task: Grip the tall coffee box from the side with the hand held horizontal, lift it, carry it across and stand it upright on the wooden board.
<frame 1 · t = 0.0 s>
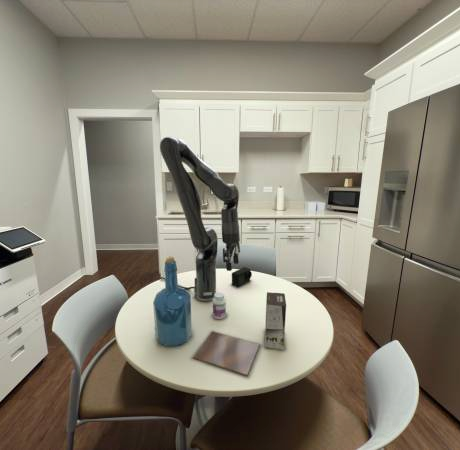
hand: (232, 266, 110), 17 cm above the table, tool pointing down, fingers open, 8 cm apart
digital camera: (241, 283, 132), on the table
wine bottle: (174, 336, 91), on the table
coffee box: (274, 340, 88), on the table
pill bottle: (219, 316, 103), on the table
wooden board: (227, 351, 83), on the table
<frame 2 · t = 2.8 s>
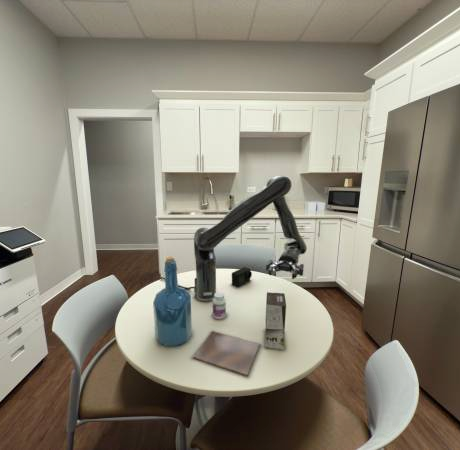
hand: (281, 274, 93), 20 cm above the table, tool horizontal, fingers open, 8 cm apart
nothing on the table moved.
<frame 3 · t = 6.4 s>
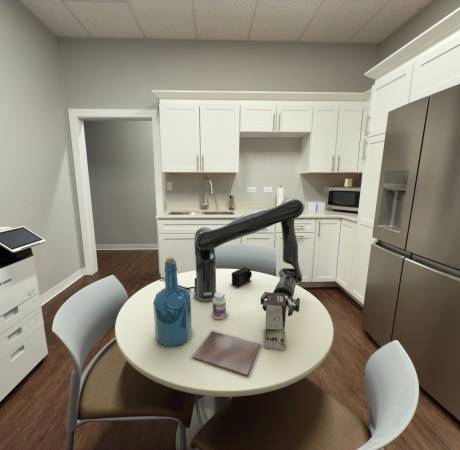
hand: (276, 311, 88), 10 cm above the table, tool horizontal, fingers open, 8 cm apart
coffee box: (274, 340, 88), on the table, touching gripper
everything else where it was.
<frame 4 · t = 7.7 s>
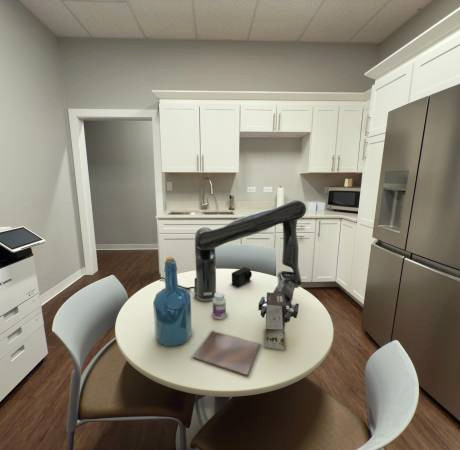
hand: (274, 317, 84), 10 cm above the table, tool horizontal, fingers closed on coffee box, 7 cm apart
coffee box: (274, 340, 88), on the table, touching gripper
everything else where it was.
when the fingers open (11 cm above the table, at t = 16.4 s): coffee box stays where it is, resting on wooden board.
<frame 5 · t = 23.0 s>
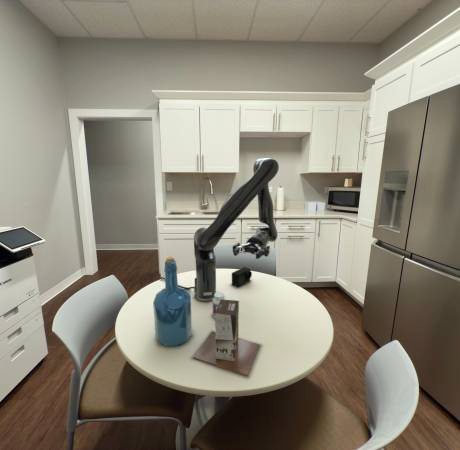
hand: (245, 254, 93), 28 cm above the table, tool horizontal, fingers open, 8 cm apart
coffee box: (227, 350, 83), resting on wooden board
everything else where it was.
at the end: coffee box inside the target area (0.1 cm from its centre), resting on wooden board; coffee box tilted 0°; the gripper is holding nothing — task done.
